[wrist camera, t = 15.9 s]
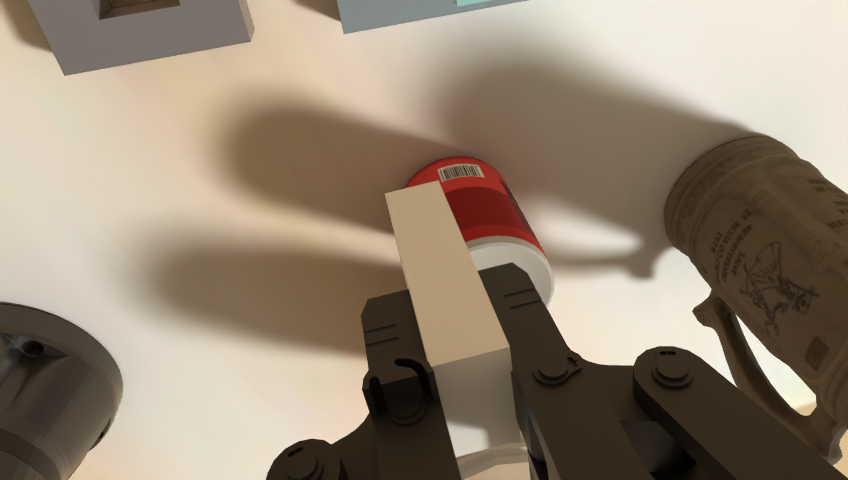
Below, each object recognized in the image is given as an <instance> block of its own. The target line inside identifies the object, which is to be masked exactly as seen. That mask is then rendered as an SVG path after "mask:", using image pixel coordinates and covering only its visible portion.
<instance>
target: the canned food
mask: <svg viewBox="0 0 848 480" xmlns="http://www.w3.org/2000/svg"><path fill="white" fill-rule="evenodd" d="M434 181H439V183H440V185H441V188H442V190H443V192H444V195H445V197H446V199H447V202H448V204H449V206H450V209H451V211H452V213H453V216H454V218H455V220H456V223H457V225H458V227H459V230H460V232H461V234H462V237H463V239H464V241H465V244H466V246H467V248H468V251H469V253H470V255H471V258H472V260H473V262H474V265H475V267H476V269H477V271H478V270H482V269H486V268H490V267H495V266H499V265H503V264H507V263H511V262H513V263H514V264H516V265H517V266H518V267H520V268H521V269H523V270H524V271H526V272H527V273H528V275H529V277H530V278H531V280H532V282H533V284H534V286H535V288H536V290H537V291H538V293H539V295H540V297H541V299H542V302H544V304H545V306H546V308H547V307H548V305H549V303H550V301H551V298H552V295H553V290H554V276H553V273H552V270H551V267H550V264H549V261H548V259H547V257H546V255H545V254H544V251H543V249H542V247H541V246H540V244H539V242H538V240H537V238H536V237H535V235H534V233H533V231H532V229H531V228H530V226H529V224H528V222H527V220H526V219H525V217H524V215H523V213H522V211H521V210H520V208H519V206H518V204H517V202H516V201H515V199H514V197H513V195H512V193H511V192H510V190H509V188H508V186H507V184H506V183H505V181H504V179H503V178H502V176H501V175H500V174H499V173H498V172H497V171H496V170H495V169H494V168H492V167H491V166H489V165H487V164H486V163H484V162H482V161H480V160H477V159H474V158H470V157H462V156H459V157H448V158H444V159H440V160H438V161H435V162H433V163H431V164H429V165H427V166H426V167H424V168H423V169H421V170H420V171H419V172H418V173H417V174H415V175H414V176H413V178H412V179H411V180H410V181H409V183H408V184H407V186H406V188H409V187H413V186H417V185H421V184H425V183H430V182H434Z"/></svg>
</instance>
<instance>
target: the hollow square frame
mask: <svg viewBox="0 0 848 480" xmlns="http://www.w3.org/2000/svg"><path fill="white" fill-rule="evenodd" d="M27 1H28V3H29V5H30V7H31V9H32V11H33V13H34V15H35V17H36V19H37V21H38V23H39V25H40V27H41V29H42V31H43V33H44V35H45V37H46V39H47V41H48V43H49V45H50V47H51V49H52V51H53V53H54V55H55V57H56V59H57V61H58V63H59V65H60V68H61V70H62V72H63V74H64V76H66V75H71V74H77V73H82V72H88V71H93V70H99V69H104V68H110V67H115V66H121V65H126V64H132V63H137V62H142V61H148V60H153V59H159V58H164V57H170V56H175V55H181V54H186V53H192V52H197V51H202V50H208V49H213V48H219V47H224V46H230V45H235V44H241V43H246V42H251V39H252V36H253V33H254V30H255V29H254V26H253V22H252V19H251V15H250V12H249V9H248V5H247V2H246V0H158V1H152V2H146V3H141V4H135V5H130V6H124V7H118V8H112V6H111V3H110V1H109V0H27Z"/></svg>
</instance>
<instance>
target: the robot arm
mask: <svg viewBox="0 0 848 480" xmlns="http://www.w3.org/2000/svg"><path fill="white" fill-rule="evenodd" d="M385 197H386V201H387V206H388V210H389V214H390V218H391V222H392V226H393V231H394V235H395V239H396V243H397V247H398V252H399V256H400V260H401V264H402V268H403V273H404V276H405V280H406V284H407V288H408V290H404V291H400V292H395V293H391V294H387V295H383V296H379V297H375V298H371V299H368V300H367V303H366V305H365V307H364V310H363V312H362V315H361V318H362V325H363V332H364V340H365V346H366V354H367V361H368V368H369V370H368V372H367V374H366V375H365V377H364V378H363V386H362V391H363V394H364V397H365V400H366V403H367V406H368V409H369V414H368V416H367V417H366V419H365V421H364V422H363V423H362V424H361V425H360V426H359V427H358V428H357V429H356V430H354V431H353V432H352V433H350V434H349V435H347V436H345V437H344V438H342V439H340V440H338V441H337V442H335V443H333V444H332V445H331V444H329V443H328V442H326V441H325V440H318V439H308V440H304V441H299V442H297V443H295V444H293V445H291V446H290V447H288V448H286V449H285V450H284V451H283V452H282V453H281V454H280V455H279V456H278V457H277V458H276V459H275V460H274V462H273V464H272V466H271V468H270V470H269V472H268V474H267V478H266V480H462V479H461V475H460V471H459V468H458V464H457V460H456V457H459V456H463V455H466V454H470V453H474V452H478V451H482V450H485V449H489V448H493V447H497V446H500V445H504V444H508V443H512V442H515V441H519V440H521V436H520V430H521V433H522V435H523V438H524V441H525V443H526V446H527V453H528V462H529V471H530V479H531V480H848V478H847V477H846V476H844V475H843V474H842V473H841V472H839V471H838V470H837V469H835V468H834V467H833V466H832V465H831V464H830V463H828V462H827V461H826V460H825V459H824V458H822V457H821V456H820V455H819V454H817V453H816V452H815V451H814V450H813V449H811V448H810V447H809V446H808V445H806V444H805V443H804V442H803V441H802V440H800V439H799V438H798V437H797V436H795V435H794V434H793V433H792V432H791V431H789V430H788V429H787V428H786V427H784V426H783V425H782V424H781V423H780V422H778V421H777V420H776V419H775V418H773V417H772V416H771V415H770V414H769V413H767V412H766V411H765V410H764V409H762V408H761V407H760V406H759V405H758V404H756V403H755V402H754V401H753V400H751V399H750V398H749V397H748V396H747V395H745V394H744V393H743V392H742V391H740V390H739V389H738V388H737V387H736V386H734V385H733V384H732V383H731V382H729V381H728V380H727V379H726V378H725V377H723V376H722V375H721V374H720V373H718V372H717V371H716V370H715V369H714V368H712V367H711V366H710V365H709V364H707V363H706V362H705V361H704V360H703V359H701V358H700V357H698V356H697V355H695V354H693V353H692V352H690V351H688V350H685V349H681V348H677V347H674V346H659V347H655V348H652V349H649V350H646V351H645V352H643V353H642V354H641V355H640V356H638V357H637V359H636V361H635V364H634V366H619V365H600V364H596V363H592V362H589V361H586V360H584V359H583V358H582V357H581V356H580V355H579V354H577V353H575V352H573V351H571V350H570V348H569V347H568V346H567V344H566V343H565V341H564V339H563V337H562V335H561V333H560V332H559V330H558V328H557V326H556V324H555V322H554V321H553V319H552V317H551V315H550V313H549V311H548V310H547V308H546V306H545V304H544V302H542V299H541V297H540V295H539V293H538V291H537V290H536V288H535V286H534V284H533V282H532V280H531V278H530V277H529V275H528V273H527V272H526V271H524V270H523V269H521V268H520V267H518V266H517V265H516V264H514V263H513V262H511V263H507V264H503V265H499V266H495V267H490V268H486V269H482V270H478V271H477V269H476V267H475V265H474V262H473V260H472V258H471V255H470V253H469V251H468V248H467V246H466V244H465V241H464V239H463V237H462V234H461V232H460V230H459V227H458V225H457V223H456V220H455V218H454V216H453V213H452V211H451V209H450V206H449V204H448V202H447V199H446V197H445V195H444V192H443V190H442V188H441V185H440V183H439V181H434V182H430V183H425V184H421V185H417V186H413V187H409V188H405V189H400V190H396V191H392V192H388V193H385ZM122 392H123V383H122V377H121V373H120V370H119V368H118V366H117V364H116V362H115V361H114V359H113V358H112V356H111V355H110V353H109V352H108V351H107V350H106V349H105V348H104V347H103V346H102V345H101V344H100V343H99V342H98V341H97V340H96V339H95V338H93V337H92V336H91V335H89V334H88V333H86V332H85V331H83V330H82V329H80V328H79V327H77V326H75V325H73V324H71V323H69V322H67V321H65V320H63V319H61V318H58V317H56V316H53V315H50V314H47V313H44V312H41V311H37V310H33V309H29V308H24V307H19V306H13V305H3V304H0V480H68V479H69V478H70V477H71V475H72V474H73V473H74V472H75V470H76V469H77V468H78V466H79V465H80V464H81V462H82V461H83V459H84V458H85V456H86V454H87V453H88V451H90V450H91V449H93V448H94V447H95V446H96V445H97V444H98V443H99V442H100V441H101V440H102V439H103V437H104V436H105V435H106V434H107V432H108V431H109V429H110V427H111V425H112V423H113V421H114V418H115V416H116V413H117V410H118V407H119V404H120V401H121V398H122Z"/></svg>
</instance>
